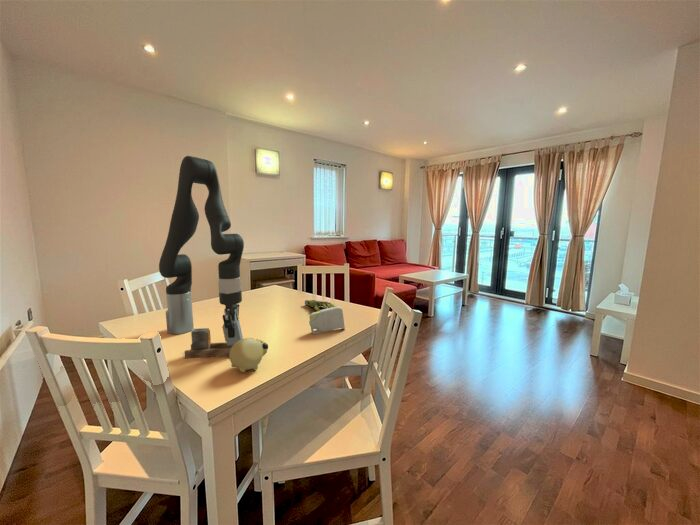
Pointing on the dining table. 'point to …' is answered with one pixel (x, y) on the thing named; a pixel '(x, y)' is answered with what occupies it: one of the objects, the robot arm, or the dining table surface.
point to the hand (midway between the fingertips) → (232, 335)
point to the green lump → (318, 304)
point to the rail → (210, 352)
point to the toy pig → (247, 353)
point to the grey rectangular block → (237, 334)
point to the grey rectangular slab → (327, 320)
